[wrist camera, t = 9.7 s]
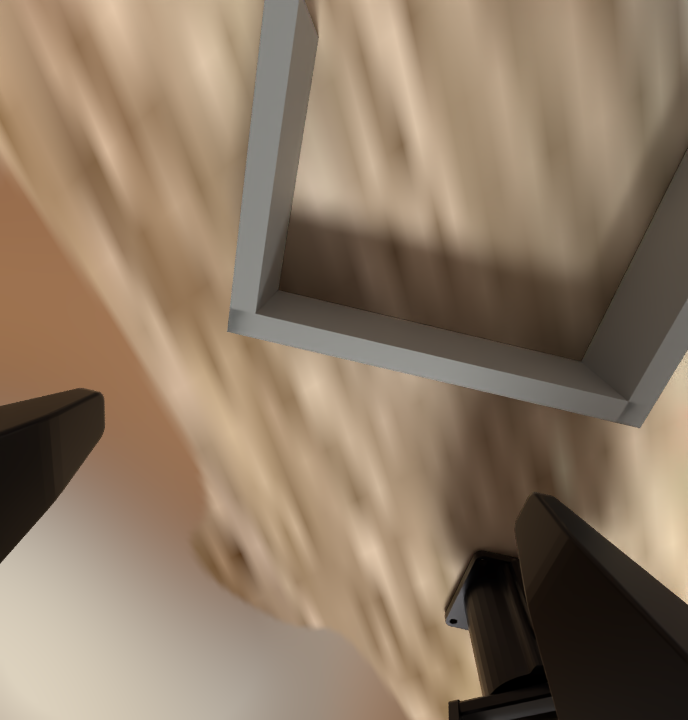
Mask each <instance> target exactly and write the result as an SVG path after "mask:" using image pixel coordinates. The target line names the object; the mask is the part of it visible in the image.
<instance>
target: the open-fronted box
mask: <svg viewBox="0 0 688 720" xmlns="http://www.w3.org/2000/svg"><path fill="white" fill-rule="evenodd" d="M317 43H318V35H317V32H316V29H315V27H314V24H313V21H312V19H311V16H310V13H309V11H308V8H307V6H306V3H305V0H265V1H264V10H263V19H262V28H261V37H260V46H259V54H258V63H257V72H256V81H255V90H254V99H253V108H252V117H251V125H250V134H249V143H248V152H247V161H246V170H245V179H244V188H243V197H242V205H241V214H240V223H239V232H238V241H237V250H236V259H235V268H234V277H233V285H232V294H231V303H230V312H229V321H228V330H227V332H231V333H235V334H239V335H244V336H248V337H252V338H257V339H261V340H265V341H269V342H274V343H278V344H282V345H286V346H291V347H295V348H299V349H304V350H308V351H312V352H316V353H321V354H325V355H329V356H334V357H338V358H342V359H346V360H351V361H355V362H359V363H363V364H368V365H372V366H376V367H381V368H385V369H389V370H393V371H398V372H402V373H406V374H411V375H415V376H419V377H423V378H428V379H432V380H436V381H440V382H445V383H449V384H453V385H458V386H462V387H466V388H470V389H475V390H479V391H483V392H488V393H492V394H496V395H500V396H505V397H509V398H513V399H517V400H522V401H526V402H530V403H535V404H539V405H543V406H547V407H552V408H556V409H560V410H565V411H569V412H573V413H577V414H582V415H586V416H590V417H594V418H599V419H603V420H607V421H612V422H616V423H620V424H624V425H629V426H633V427H637V428H640V427H641V426H642V424H643V423H644V421H645V419H646V418H647V416H648V414H649V413H650V411H651V409H652V408H653V406H654V404H655V403H656V401H657V399H658V398H659V396H660V394H661V393H662V391H663V390H664V388H665V386H666V385H667V383H668V381H669V380H670V378H671V376H672V375H673V373H674V371H675V370H676V368H677V366H678V365H679V363H680V362H681V360H682V358H683V357H684V355H685V353H686V352H687V350H688V149H687V151H686V153H685V155H684V157H683V159H682V161H681V163H680V165H679V167H678V169H677V171H676V173H675V175H674V177H673V179H672V181H671V183H670V185H669V187H668V189H667V191H666V193H665V195H664V197H663V199H662V201H661V203H660V205H659V207H658V209H657V211H656V213H655V215H654V217H653V219H652V221H651V223H650V225H649V227H648V229H647V231H646V233H645V235H644V237H643V239H642V241H641V243H640V245H639V247H638V249H637V251H636V253H635V255H634V257H633V259H632V261H631V263H630V265H629V267H628V269H627V271H626V273H625V275H624V277H623V279H622V281H621V283H620V285H619V287H618V289H617V291H616V293H615V295H614V297H613V299H612V301H611V303H610V305H609V307H608V309H607V311H606V313H605V315H604V317H603V319H602V321H601V323H600V325H599V327H598V329H597V331H596V333H595V335H594V337H593V339H592V341H591V343H590V345H589V347H588V349H587V351H586V353H585V355H584V357H583V359H582V361H581V362H580V361H576V360H572V359H568V358H563V357H559V356H555V355H551V354H546V353H542V352H538V351H534V350H530V349H525V348H521V347H517V346H513V345H508V344H504V343H500V342H496V341H491V340H487V339H483V338H479V337H475V336H470V335H466V334H462V333H458V332H453V331H449V330H445V329H441V328H436V327H432V326H428V325H424V324H420V323H415V322H411V321H407V320H403V319H398V318H394V317H390V316H386V315H381V314H377V313H373V312H369V311H364V310H360V309H356V308H352V307H348V306H343V305H339V304H335V303H331V302H326V301H322V300H318V299H314V298H309V297H305V296H301V295H297V294H293V293H288V292H284V291H280V290H278V289H279V282H280V276H281V270H282V264H283V257H284V251H285V245H286V238H287V232H288V226H289V220H290V213H291V207H292V201H293V194H294V188H295V182H296V175H297V169H298V163H299V157H300V150H301V144H302V138H303V131H304V125H305V119H306V113H307V106H308V100H309V94H310V87H311V81H312V75H313V69H314V62H315V56H316V50H317Z"/></svg>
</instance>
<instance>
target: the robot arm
mask: <svg viewBox="0 0 688 720" xmlns="http://www.w3.org/2000/svg"><path fill="white" fill-rule="evenodd" d="M104 410H105V406H104V396H103V394H101V392H97V391H94V390H89V389H85V388H77V389H73V390H69V391H64V392H60V393H55V394H51V395H47V396H42V397H38V398H34V399H29V400H25V401H20V402H16V403H12V404H8V405H3V406H0V563H1V562H2V561H3V560H4V559H5V558H6V556H7V555H8V554H9V553H10V552H11V551H12V550H13V549H14V547H15V546H16V545H17V544H18V543H19V542H20V541H21V539H22V538H23V537H24V536H25V535H26V534H27V533H28V532H29V530H30V529H31V528H32V527H33V526H34V525H35V524H36V522H37V521H38V520H39V519H40V518H41V517H42V516H43V515H44V513H45V512H46V511H47V510H48V509H49V508H50V506H51V505H52V504H53V503H54V502H55V501H56V499H57V498H58V496H59V495H60V494H61V493H62V491H63V490H64V489H65V487H66V486H67V485H68V483H69V482H70V480H71V479H72V478H73V476H74V475H75V473H76V472H77V471H78V469H79V468H80V466H81V465H82V464H83V462H84V461H85V459H86V458H87V457H88V455H89V454H90V452H91V451H92V450H93V448H94V447H95V445H96V444H97V443H98V441H99V440H100V438H101V437H102V435H103V432H104V428H105V411H104ZM515 537H516V543H517V549H518V555H519V559H517V558H513V557H509V556H504V555H500V554H495V553H491V552H487V551H478V552H476V553H475V554H474V555H473V557H472V559H471V561H470V563H469V565H468V567H467V570H466V572H465V574H464V576H463V578H462V580H461V582H460V584H459V586H458V588H457V590H456V592H455V594H454V596H453V598H452V601H451V603H450V605H449V607H448V609H447V611H446V613H445V621H446V624H447V625H449V626H452V627H456V628H461V629H465V630H469V633H470V638H471V643H472V647H473V652H474V657H475V662H476V666H477V671H478V676H479V681H480V685H481V690H482V695H483V696H482V697H478V698H473V699H469V700H464V701H460V700H454V701H450V702H449V720H688V605H687V604H686V603H685V602H684V601H683V600H681V599H680V598H679V597H678V596H676V595H675V594H674V593H673V592H671V591H670V590H669V589H668V588H666V587H665V586H664V585H663V584H662V583H660V582H659V581H658V580H657V579H655V578H654V577H653V576H652V575H650V574H649V573H648V572H647V571H645V570H644V569H643V568H642V567H641V566H639V565H638V564H637V563H636V562H634V561H633V560H632V559H631V558H629V557H628V556H627V555H626V554H624V553H623V552H622V551H621V550H619V549H618V548H617V547H616V546H615V545H613V544H612V543H611V542H610V541H608V540H607V539H606V538H605V537H603V536H602V535H601V534H600V533H598V532H597V531H596V530H595V529H594V528H592V527H591V526H590V525H589V524H587V523H586V522H585V521H584V520H582V519H581V518H580V517H579V516H577V515H576V514H575V513H574V512H572V511H571V510H570V509H569V508H568V507H566V506H565V505H564V504H563V503H561V502H560V501H559V500H558V499H556V498H555V497H553V496H551V495H546V494H542V493H537V492H534V493H532V494H530V495H529V497H528V499H527V500H526V502H525V504H524V506H523V508H522V510H521V512H520V514H519V516H518V518H517V520H516V523H515ZM482 559H483V560H482Z"/></svg>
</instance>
